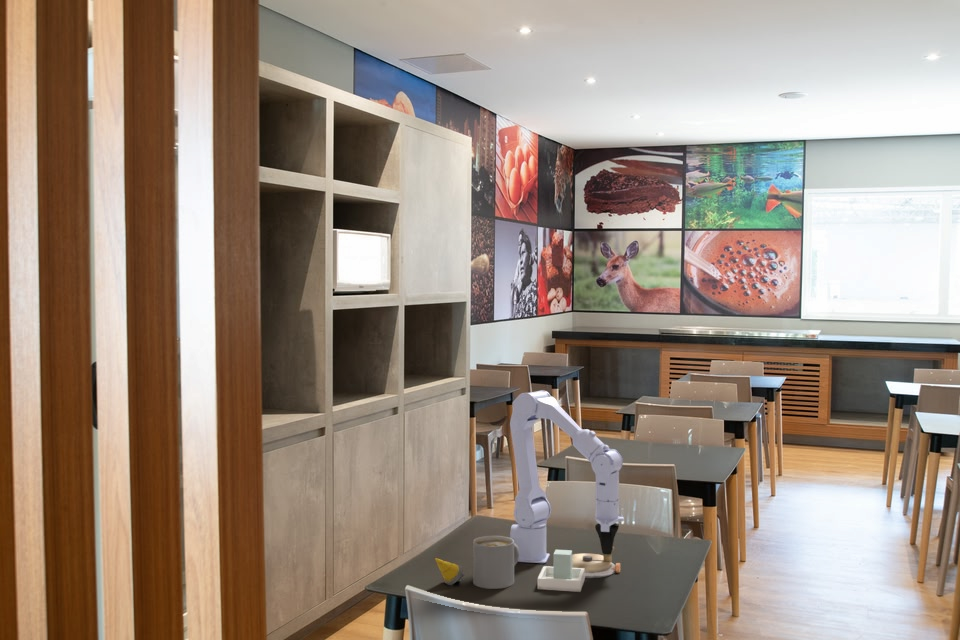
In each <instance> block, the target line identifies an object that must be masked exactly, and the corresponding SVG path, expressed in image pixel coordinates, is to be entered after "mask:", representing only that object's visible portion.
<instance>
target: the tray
mask: <svg viewBox="0 0 960 640" xmlns="http://www.w3.org/2000/svg"><path fill="white" fill-rule="evenodd" d="M585 579H586V578H585V568H572V579H556V578H554V570H553V566H549V565H548V566H547V565H544V566H543V567H542V568H541V570H540V572H539V574H538V576H537V590H547V591H562V592H577V593H581V591H582V589H583V586H584V582H585Z"/></svg>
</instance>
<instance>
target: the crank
mask: <svg viewBox="0 0 960 640" xmlns="http://www.w3.org/2000/svg"><path fill="white" fill-rule="evenodd" d="M615 548H616V547H614V546H613V549H612V552H614V551H615ZM599 549H600V550H601V551H602V549H601V546H600V548H599ZM612 554H613V553H611V555H610V554H603V553H602V554H599V553H597V554H596V553H589V552H588V553H584V552H583V553H572V568H585V572H598V571H604V570H607V569H609V568H611V566H612V563H613V562H612V561H613V559H612Z"/></svg>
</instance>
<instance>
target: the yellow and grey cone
mask: <svg viewBox="0 0 960 640" xmlns="http://www.w3.org/2000/svg"><path fill="white" fill-rule="evenodd" d="M434 560H435V562H436V564H437V565H436V566H437V567H438V568H439V571H440V574H441V575H442V581H443V582H444V583H445V584H446V585H448V586H452V585H454V584H455V583H457V582H462V579H463V578H464V577H465V574H464V573H463V571H464V570H463V567H462V565H460V564H459V563H456V562H455V563H453V562H449V561H446V560H443V559H440V558H436V557H435V558H434Z"/></svg>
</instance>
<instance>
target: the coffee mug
mask: <svg viewBox="0 0 960 640" xmlns="http://www.w3.org/2000/svg"><path fill="white" fill-rule="evenodd" d="M518 558H519V549H518V546H517V545H516V544H514V540H513V539H511V538H510V536H509V537H508V536H505V535H484V536H479V537H475V538H474V539H473V541H472V583H473V585H474V586H476V587H479V588H481V589H487V590H488V589H489V590H492V589H493V590H494V589H495V590H496V589H498V590H500V589H506V588H510V587H511V586H513V585H514V584H515V567H516V566H517V563H519V562H518Z"/></svg>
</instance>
